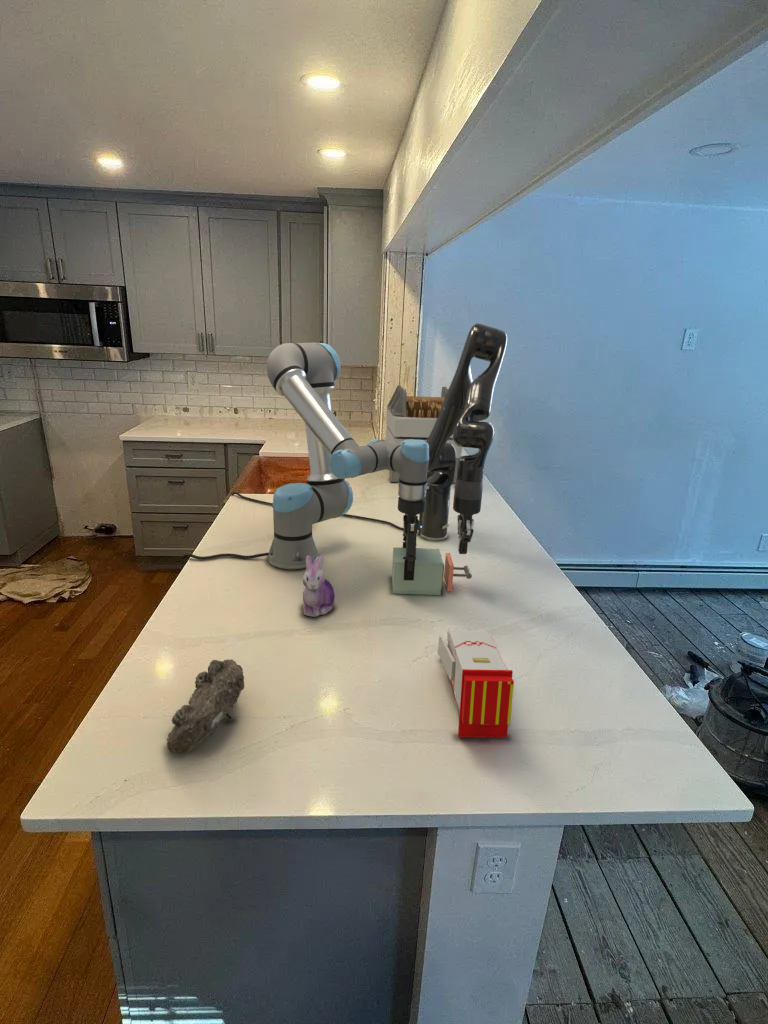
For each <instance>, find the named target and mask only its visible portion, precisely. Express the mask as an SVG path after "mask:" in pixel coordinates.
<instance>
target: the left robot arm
mask: <svg viewBox="0 0 768 1024" xmlns="http://www.w3.org/2000/svg"><path fill="white" fill-rule="evenodd" d="M266 373H267V374H266V375H267V378H268V380H269V383H270V385H271V386H272V388H273V389H274V390H275V392H276V393H277V394H278V395H279V396H281V397H285V399H286V400H287V402H288V403H289V404H290V405H291V406H292V408H293V409H294V410H295V411H296V413H297V414H298V416H299V417H300V418H301V420H302V421H303V422H304V425H305V435H306V444H307V452H308V460H309V461H308V462H309V469H310V474H309V475H308V476H307V477H306V482H295V483H293V482H290V483H287V484H283V485H281V486H279V487H278V488H276V490H274V492H273V496H272V497H273V498H272V503H273V504H272V505H271V506H272V513H273V514H272V517H273V519H272V520H273V538H272V542H271V545H270V547H269V551H268V552H262V553H256V554H250V555H243V554H237V553H227V552H226V553H217V554H213V555H205V556H200V555H199V556H198V555H196V554H194V553H193V554H192V553H185V554H182V556H181V557H180V559H185V558H188V557H189V558H192V559H196V560H200V561H202V560H212V559H217V558H224V557H225V558H226V557H232V558H238V559H245V560H246V559H247V560H248V559H255V558H261V557H268V563H269V564H270V565H271V566H272V567H274V568H277V569H281V570H288V571H289V570H291V571H293V570H296V571H297V570H303V569H306V557H307V556H308V555H310V556H311V558H312V560H313V562H315V561H316V560H317V558H318V557H319V550H318V549H317V545H316V543H315V540H314V537H313V525H316V524H318V523H321V522H324V521H328V520H331V519H336V518H339V517H342V516H341V515H343V514H348V512H349V511H350V510H351V508H352V507H353V506H352V505H353V504H354V503H353V502H354V492H353V488H352V487H351V486H350V483H349V481H347V480H346V479H354V478H357V477H359V476H363V475H364V476H365V475H368V474H373V473H376V472H381V471H384V470H387V471H390V470H391V471H394V472H398V473H399V482H398V489H397V490H398V492H397V495H398V496H399V497H398V498H397V510H398V512H400V513H402V514H403V516H402V519H403V520H402V521H403V528H404V530H402V531H403V532H402V548H406V556H405V557H403V559H405V566H404V580H412V581H414V567H415V560H416V548H417V537H418V536H417V535H418V530H417V527H418V520H419V516H418V515H420V514H422V513H423V512H424V511H425V505H426V499H425V497H426V489H429V486H427V479H428V473H429V471H428V464H429V445H428V443H427V442H426V441H423V440H416V439H407V440H404V441H402V443H401V445H400V444H396V443H392V442H389V441H386V440H385V439H378V438H374V439H370V441H369V442H367V443H366V444H365V445H359V444H358V443H357V441H356V440H355V439H354V438H353V437H352V435H351V434H350V433H349V432H348V430H347V429H346V428H345V427H344V425H343V424H342V423H341V422H340V420H339V419H338V418H337V416H336V415H335V414H334V413H333V409H332V408H333V407H332V398H331V393H332V391H333V390H334V388H335V381H336V380H337V379H338V377H340V375H339V374H340V373H341V361H340V357H339V355H338V353H337V352H336V350H335V349H334V348H333V347H332V346H331V345H330V344H328V343H326V342H325V343H324V342H286V343H281V344H279V345H278V346H276V347H275V348H274V349H273V350H272V351H271V352H270V354H269V355H268V358H267V361H266Z"/></svg>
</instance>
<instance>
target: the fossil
mask: <svg viewBox="0 0 768 1024" xmlns="http://www.w3.org/2000/svg"><path fill="white" fill-rule="evenodd" d="M243 670H244V669H243V667H242V665H240V664H237V662H236V661H235V660H234V659H232V658H231V659H227V658H226V659H224V660H223V661H222V660H217V659H212V660H211V661H210V663H209V665H208V666H207V671H201V672H199V673H198V674H197V675H196V676H195V680H194V684H195V685H194V687H195V689H194V690H193V693H192V694H191V697H190V698H189V700H188V704H184V705H182V706H181V707H180V709H177V710H176V711H175V713H174V715H173V716H172V718H171V723H172V724H173V727H172V730H171V731H170V732H168V734H167V738H166V741H167V742H166V745H167V749H168V750H169V751H173V752H174V753H176V754H178V753H182V752H188V751H189V752H192V751H193V750H195V748H196V747H197V746H199V744H200V743H201V742H203V741H204V740H205V739H206V738H207V737H208V736H209V735H210V734H211V733H212V732H214V730H215V729H217V727H218V726H219V724H220V722H221V721H222V720H223V719H224V718H225V716H226V717H227V719H229V720H233V717H232V715H230V714H229V710H230V709H231V708H234V706H235V704H236V703H237V702H238V699H239V697H240V695H241V693H242V691H243V690H245V689H244V688H245V675H244V671H243Z"/></svg>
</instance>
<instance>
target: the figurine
mask: <svg viewBox="0 0 768 1024" xmlns="http://www.w3.org/2000/svg"><path fill="white" fill-rule="evenodd" d="M324 560H325V556H324V554H319V555H318V558H317V560H316V561H315V562H313V560H312V558H311V556H310V555H308V556H307V557H306V568H305V572H304V573H303V576H302V584H303V586H304V589H303V591H302V603H303V604H302V609H303V615H305V616H307V617H319V616H324V615H326V614H328V613H329V612H331V611H332V610H333V609H334V606H335V605H334V604H335V597H336V595H335V590H334V589H335V588H334V586H333V585H332V583H331V582H330V581H329V580H328V579H327V578H325V574H324V572H323V570H322V568H323V564H324Z"/></svg>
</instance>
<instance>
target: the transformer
mask: <svg viewBox="0 0 768 1024" xmlns="http://www.w3.org/2000/svg"><path fill="white" fill-rule="evenodd" d="M448 389H449V388H447V386H442V387H441V392H440V393H441V394H440V396H415V395H414V396H413V395H412V396H411V395H407V394H408V393H407V390H406V389H404V388H403V387H402V385H399V384H398V385H397V386H396V388H395V390H394V392H393V394H392V395H391V398H390V400H389V402H388V404H387V405H386V413H385V414H386V415H385V423H386V428H385V438H384V440H386V441H389V442H392V443H396V444H400V445H401V443H402V441H404V440H407V439H416V440H423V441H427V439H428V437H429V435H430V433H431V431H432V429H433V427H434V425H435V423H436V420H437V418H438V415H439V413H440V410H441V407H442V404H443V402H444V399H445V396H446V394H447V392H448ZM446 443H451V444H452V445H453V446H454V448H455V450H456V467H455V474H454V481H453V484H455V482H456V477H457V465H458V460H459V458H460V457H462V453H463V447H459V446H457V445H456V444H455V442H454V440H453V435H452V436H451V437H450V438H449V439H448V441H447V442H446ZM388 476H389V477H388V478H389V480H390V482H391V483H399V473H398V472H394V471H391V470H389V475H388Z"/></svg>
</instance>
